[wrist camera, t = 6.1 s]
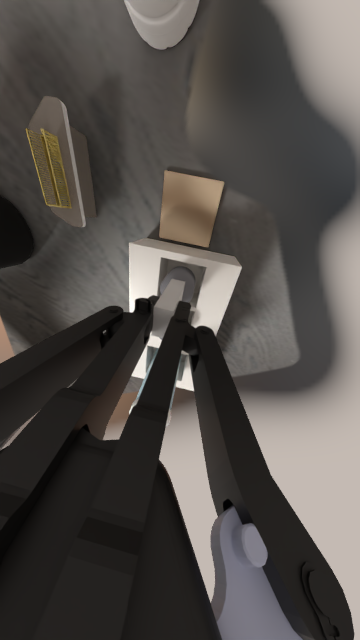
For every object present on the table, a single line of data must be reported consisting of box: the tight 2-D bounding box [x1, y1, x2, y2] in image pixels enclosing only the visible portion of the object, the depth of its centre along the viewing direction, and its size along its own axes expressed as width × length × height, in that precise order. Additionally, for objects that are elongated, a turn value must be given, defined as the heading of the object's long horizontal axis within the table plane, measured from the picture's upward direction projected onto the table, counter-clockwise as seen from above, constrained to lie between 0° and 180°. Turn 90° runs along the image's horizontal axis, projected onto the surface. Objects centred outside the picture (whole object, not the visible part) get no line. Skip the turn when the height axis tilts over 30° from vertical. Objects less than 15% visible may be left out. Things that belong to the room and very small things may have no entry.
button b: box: [160, 266, 196, 302], centre depth 20 cm, size 4×4×6 cm
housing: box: [129, 238, 242, 391], centre depth 27 cm, size 24×13×6 cm, turn 170°
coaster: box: [159, 170, 224, 247], centre depth 20 cm, size 7×7×1 cm
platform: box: [25, 96, 97, 227], centre depth 18 cm, size 12×18×7 cm, turn 172°
